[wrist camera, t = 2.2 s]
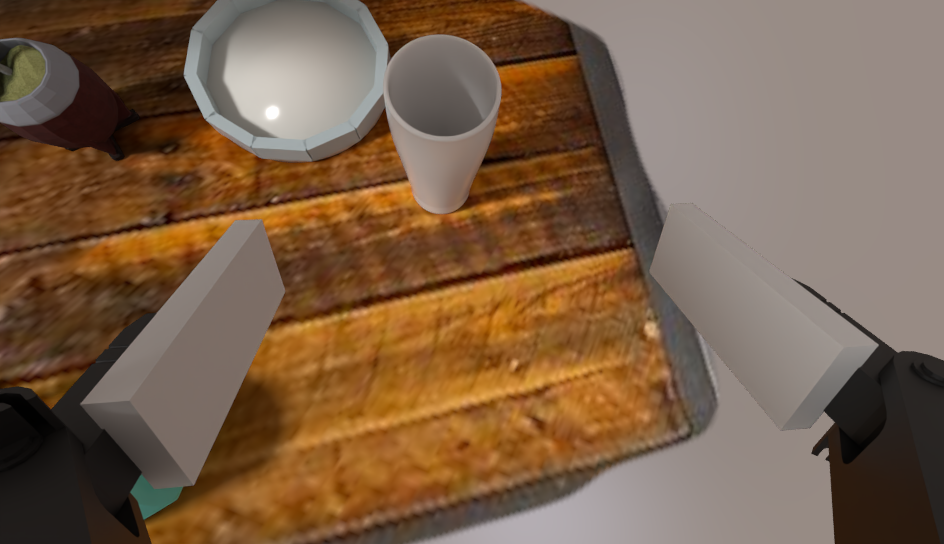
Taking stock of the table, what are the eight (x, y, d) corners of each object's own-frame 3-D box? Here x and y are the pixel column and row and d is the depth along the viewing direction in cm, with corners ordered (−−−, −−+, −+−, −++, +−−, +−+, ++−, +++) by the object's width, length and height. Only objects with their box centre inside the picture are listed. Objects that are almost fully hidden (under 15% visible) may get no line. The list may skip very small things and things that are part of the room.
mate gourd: (161, 143, 35) (-38, 1, 20) (72, 188, 34) (-209, 69, 19) (122, 78, 36) (-98, -105, 21) (34, 119, 35) (-266, -46, 20)
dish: (163, 99, 36) (143, 81, 33) (278, -30, 39) (267, -55, 37) (321, 196, 35) (313, 186, 33) (424, 58, 39) (423, 39, 36)
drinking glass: (431, 141, 37) (427, 10, 23) (491, 180, 37) (526, 74, 22) (389, 196, 36) (355, 96, 21) (450, 238, 36) (459, 165, 21)
